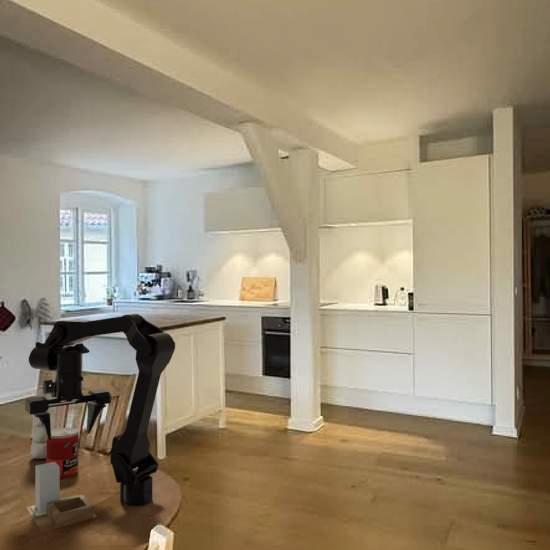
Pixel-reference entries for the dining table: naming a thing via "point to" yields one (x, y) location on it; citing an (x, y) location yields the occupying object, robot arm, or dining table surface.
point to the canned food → (64, 450)
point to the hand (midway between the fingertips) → (69, 436)
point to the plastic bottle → (41, 429)
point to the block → (46, 485)
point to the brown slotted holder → (63, 512)
